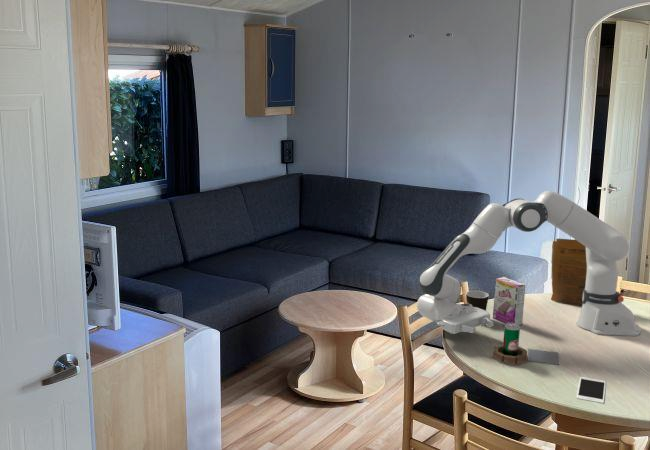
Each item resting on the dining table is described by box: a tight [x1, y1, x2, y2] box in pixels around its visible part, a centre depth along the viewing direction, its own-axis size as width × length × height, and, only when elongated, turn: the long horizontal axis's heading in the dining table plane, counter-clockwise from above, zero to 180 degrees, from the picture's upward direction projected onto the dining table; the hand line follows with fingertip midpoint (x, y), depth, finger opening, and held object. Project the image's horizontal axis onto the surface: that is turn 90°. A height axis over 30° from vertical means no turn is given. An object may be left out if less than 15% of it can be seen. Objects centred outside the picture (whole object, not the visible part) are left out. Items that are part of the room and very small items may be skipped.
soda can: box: [502, 323, 521, 356], centre depth 244 cm, size 5×5×12 cm
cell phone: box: [575, 376, 607, 404], centre depth 223 cm, size 8×16×1 cm, turn 157°
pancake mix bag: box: [550, 238, 587, 307], centre depth 297 cm, size 7×19×28 cm, turn 68°
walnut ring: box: [492, 344, 528, 366], centre depth 245 cm, size 11×11×2 cm
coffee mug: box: [465, 290, 490, 311], centre depth 281 cm, size 12×9×10 cm
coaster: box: [527, 348, 560, 366], centre depth 246 cm, size 10×10×1 cm
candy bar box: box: [492, 276, 526, 326], centre depth 277 cm, size 11×5×16 cm, turn 34°
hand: (483, 327), depth 253 cm, fingers open, 8 cm apart
